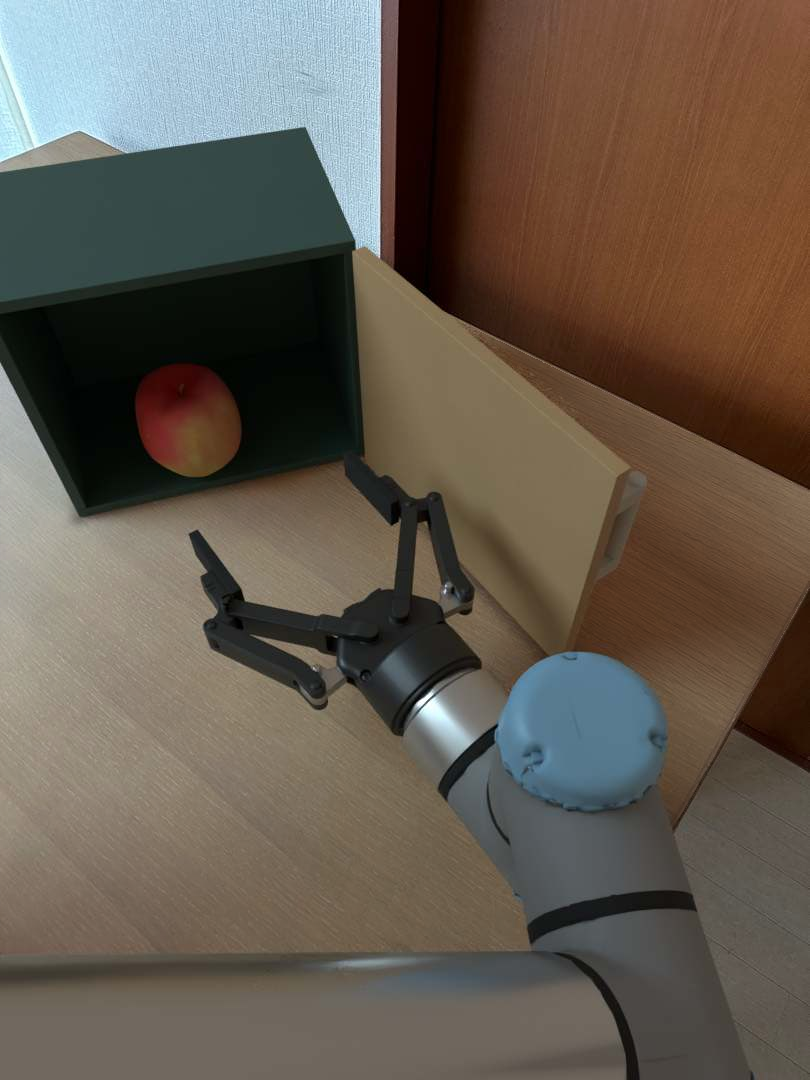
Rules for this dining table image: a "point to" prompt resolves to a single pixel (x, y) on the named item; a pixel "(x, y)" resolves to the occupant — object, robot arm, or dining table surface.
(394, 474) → the cupboard door
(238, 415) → the apple
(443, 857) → the dining table surface
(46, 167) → the cupboard
